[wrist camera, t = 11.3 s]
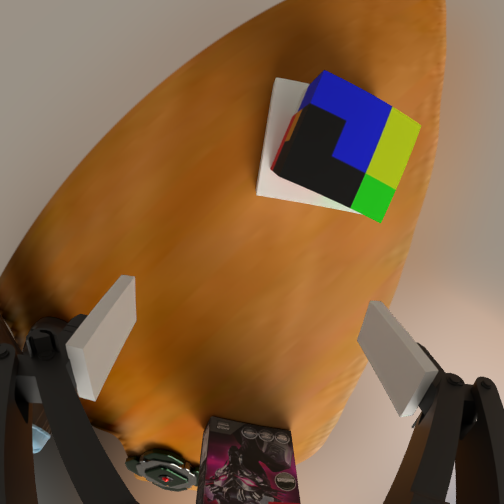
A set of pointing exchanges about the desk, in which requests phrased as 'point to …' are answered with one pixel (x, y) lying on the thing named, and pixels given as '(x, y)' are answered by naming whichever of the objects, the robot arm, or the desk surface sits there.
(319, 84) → the puzzle toy
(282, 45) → the desk surface
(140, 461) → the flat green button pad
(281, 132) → the plinth
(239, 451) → the graphics card box
